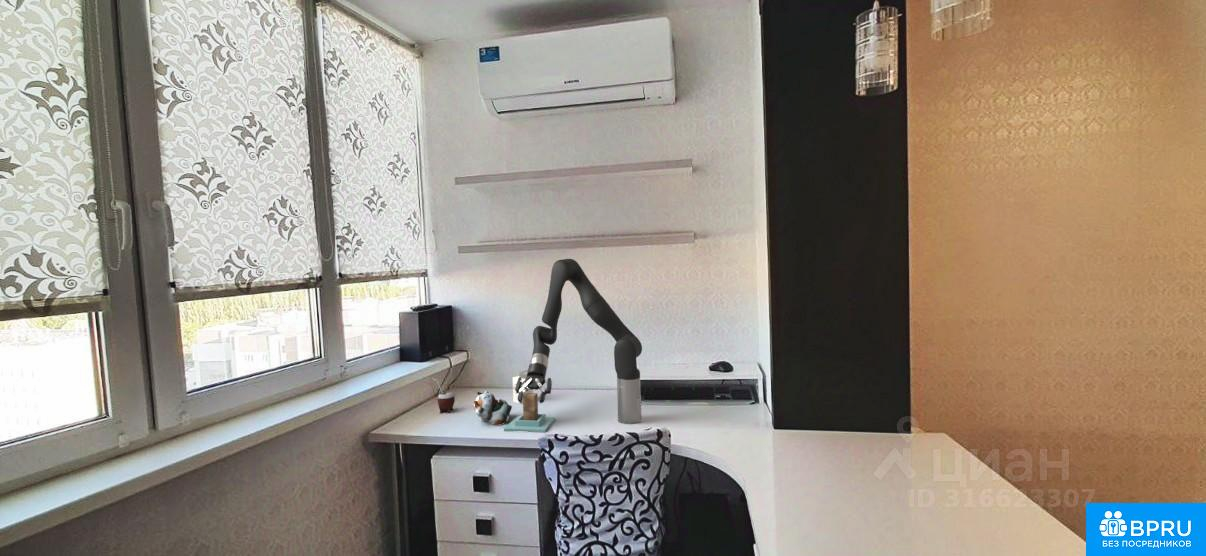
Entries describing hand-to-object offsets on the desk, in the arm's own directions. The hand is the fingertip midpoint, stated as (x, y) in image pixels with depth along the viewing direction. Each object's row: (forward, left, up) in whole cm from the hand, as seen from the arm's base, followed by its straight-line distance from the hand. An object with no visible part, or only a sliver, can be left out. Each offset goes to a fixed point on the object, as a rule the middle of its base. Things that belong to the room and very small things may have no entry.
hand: (530, 402), depth 189 cm
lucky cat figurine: (+17, -3, -9) cm, 19 cm away
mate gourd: (+43, -14, -9) cm, 46 cm away
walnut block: (0, 0, -8) cm, 8 cm away
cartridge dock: (0, 0, -9) cm, 9 cm away
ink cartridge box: (+14, -33, -9) cm, 37 cm away
